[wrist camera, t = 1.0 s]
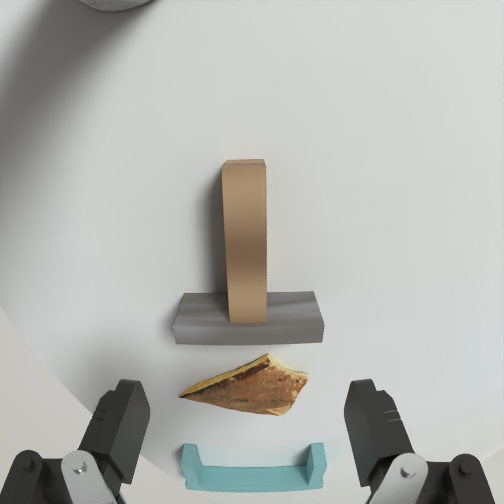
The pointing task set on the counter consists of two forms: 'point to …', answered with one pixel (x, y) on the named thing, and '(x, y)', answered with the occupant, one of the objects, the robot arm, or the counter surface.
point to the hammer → (247, 278)
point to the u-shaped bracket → (253, 474)
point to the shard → (252, 388)
